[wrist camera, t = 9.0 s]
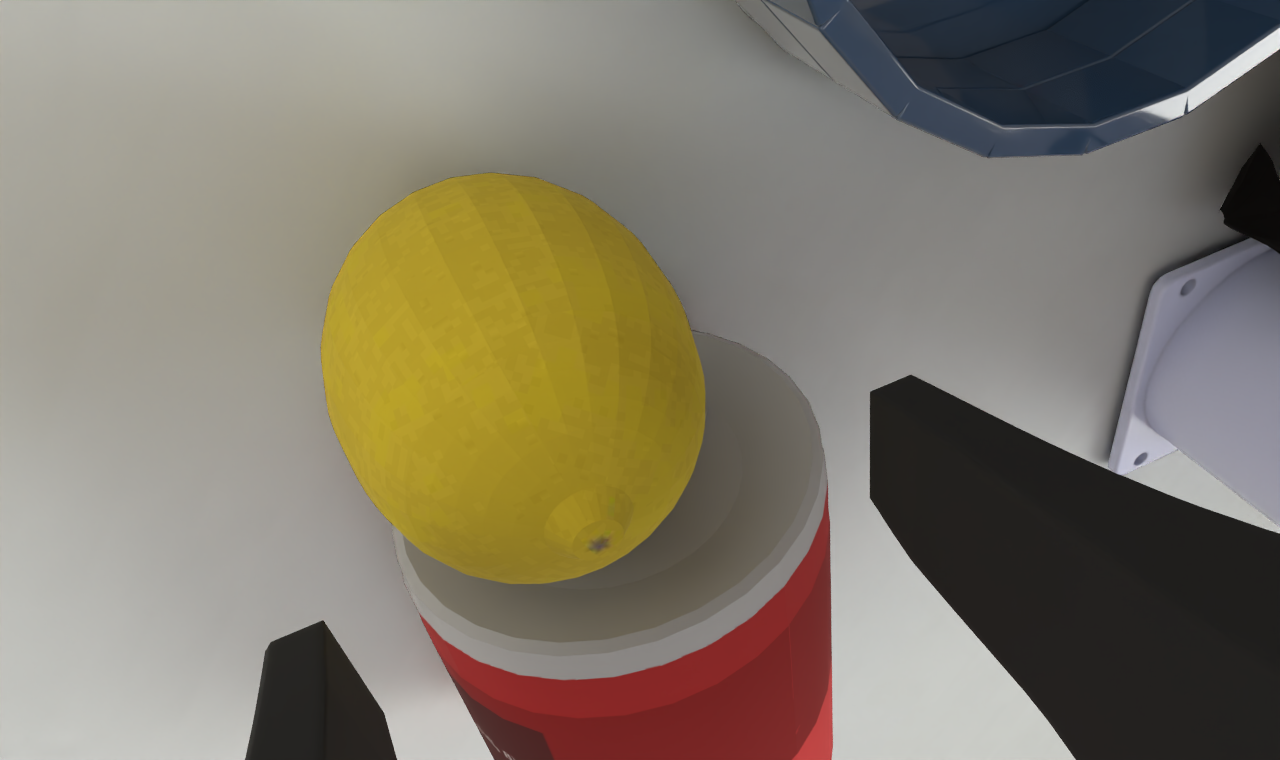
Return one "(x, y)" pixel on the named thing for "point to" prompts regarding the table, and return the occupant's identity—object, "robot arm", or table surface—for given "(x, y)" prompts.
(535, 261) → the lemon
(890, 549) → the table surface
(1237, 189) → the juice carton
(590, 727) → the canned food
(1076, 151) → the bowl
